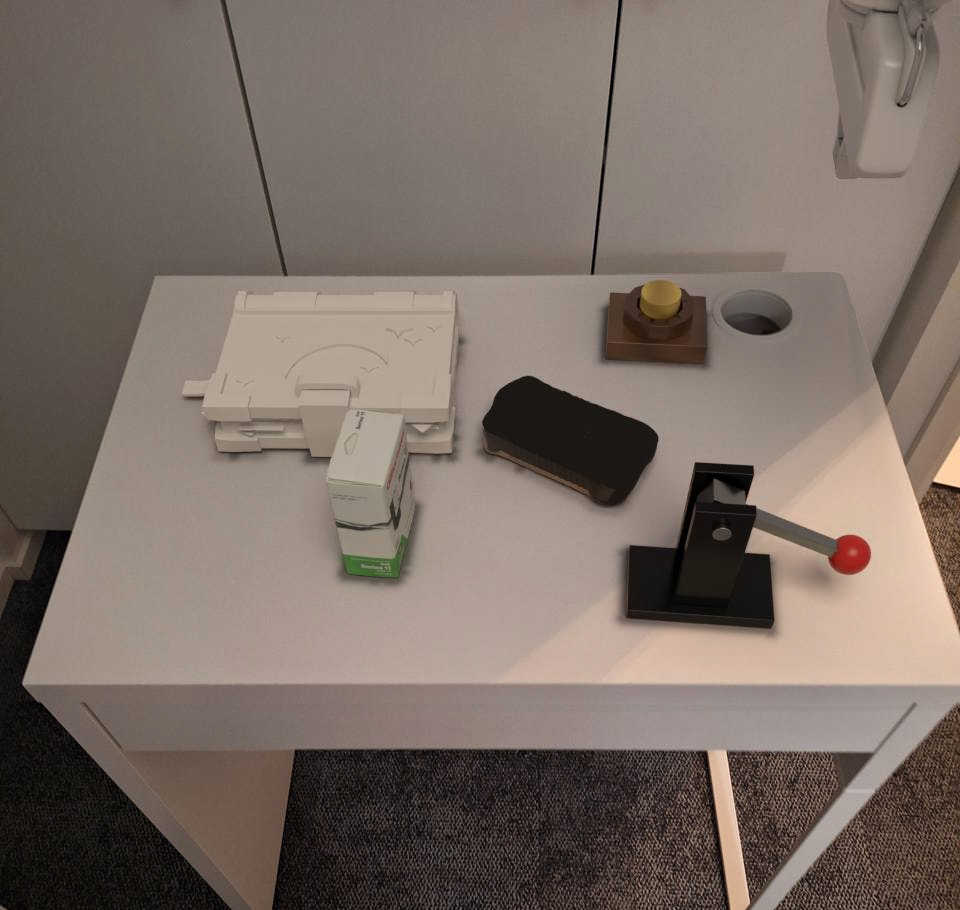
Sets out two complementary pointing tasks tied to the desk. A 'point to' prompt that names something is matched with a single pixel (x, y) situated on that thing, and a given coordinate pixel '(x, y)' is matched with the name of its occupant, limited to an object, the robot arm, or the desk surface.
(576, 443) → the black sponge
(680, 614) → the bracket
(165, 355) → the desk surface
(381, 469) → the ink box
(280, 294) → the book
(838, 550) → the lever
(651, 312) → the button
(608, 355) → the button block
